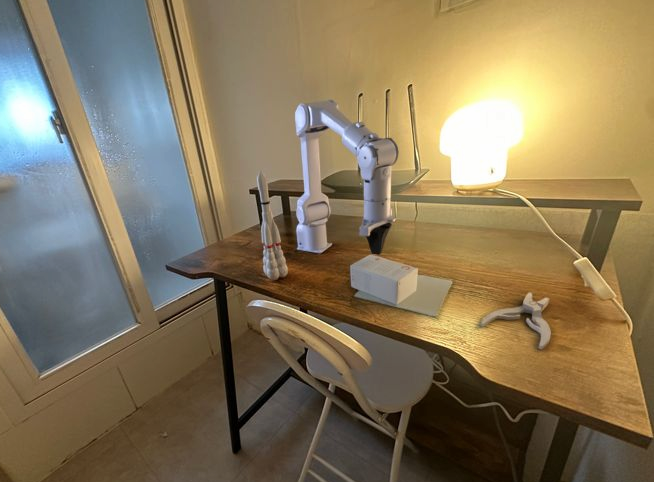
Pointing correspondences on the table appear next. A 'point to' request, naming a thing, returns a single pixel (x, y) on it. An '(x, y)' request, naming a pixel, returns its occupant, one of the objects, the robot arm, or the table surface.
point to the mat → (419, 296)
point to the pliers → (537, 318)
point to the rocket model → (270, 236)
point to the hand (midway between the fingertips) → (376, 253)
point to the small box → (384, 278)
